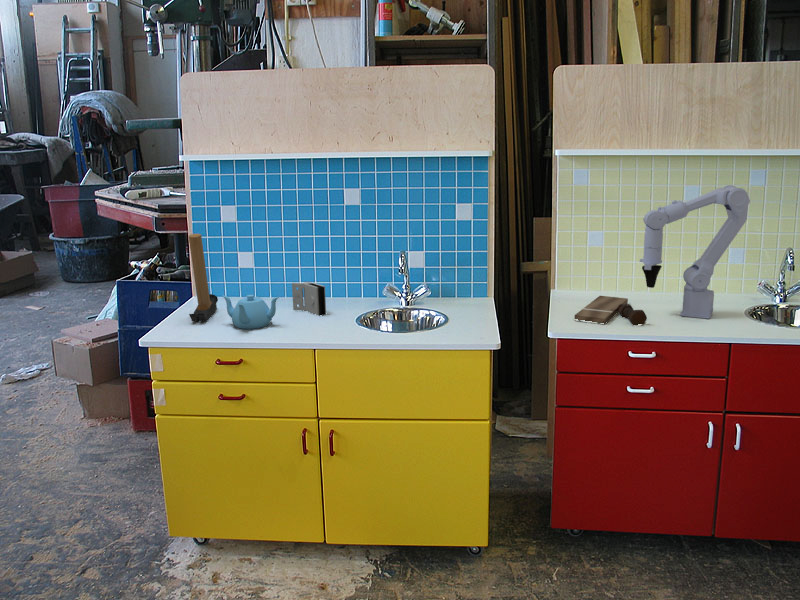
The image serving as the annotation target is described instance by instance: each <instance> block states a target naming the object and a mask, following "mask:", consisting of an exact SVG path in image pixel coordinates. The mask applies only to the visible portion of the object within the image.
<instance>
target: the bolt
mask: <svg viewBox="0 0 800 600" xmlns="http://www.w3.org/2000/svg"><path fill="white" fill-rule="evenodd" d="M617 311H618V314H620V317H621V316H622V317H621V318H623V317H627V318H626V319H628V320H629V322H630V324H631V325H632V324H633V325H638V324H644V325H645V323H647V320H648V317H647V314H646V313H645V311H644V310H643V309H634V308H633V306H632V304H629V303H628V304H625V305H624V304H621V305H619V306H618V307H617ZM633 325H632V326H633Z"/></svg>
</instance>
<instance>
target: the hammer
mask: <svg viewBox="0 0 800 600" xmlns="http://www.w3.org/2000/svg"><path fill="white" fill-rule="evenodd" d="M188 243H189V250H190V256H191V262H192V264H191V265H192V271H193V279H194V284H195V290H196V291H195V292H196V299H197V306H196V308H195V310H194V311H193V313H189V314H188V315H189V318H190V319H191V321H192V322H209V320H210V319H211V318H212V317H213V316H214V315H215V312H216V311H217V310H218V307H217V306H218V305H217V303H218V301H219V299H218V298H219V297H218V296H217V295H215V294H211V293H210V290H209V281H208V273H207V268H206V259H205V255H204V254H205V253H204V245H203V237H202V234H201V233H191V234H189V235H188ZM212 315H213V316H212ZM211 316H212V317H211ZM210 317H211V318H210ZM209 318H210V319H209ZM208 319H209V320H208Z"/></svg>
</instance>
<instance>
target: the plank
mask: <svg viewBox="0 0 800 600" xmlns="http://www.w3.org/2000/svg"><path fill="white" fill-rule="evenodd" d="M628 301H629V298H626V297H618V296H607V295H599V296H597V297H596V298H595V299H593V300H592V301H591V302H590V303H588V304H587V305H586V306H584V307H583V308H581V310H580V311H578V312H577V313H576V314H574V319H578V320H585V321H592V322H598V323H604V324H605V323H606V322H607V321H608V322H609V321H611V320H612V319H613V318H614V317H615V316H616V315H617V314H619V312H618V311H617V307H618V306H619V305H621V304H624V305H625V304H629V303H628ZM616 313H617V314H616ZM615 314H616V315H615ZM614 315H615V316H614ZM613 316H614V317H613ZM612 317H613V318H612ZM611 318H612V319H611ZM610 319H611V320H610ZM608 322H607V323H608ZM607 323H606V324H607ZM606 324H605V325H606Z"/></svg>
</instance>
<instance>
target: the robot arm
mask: <svg viewBox="0 0 800 600" xmlns="http://www.w3.org/2000/svg"><path fill="white" fill-rule="evenodd" d="M750 203H751V199H750V197H749V195H748V192H747V191H746V190H745V189H744V188H742V187H737V186H735V185H725V186H723V187H718V188H716V189H714V190H711V191H709V192H706V193H704V194H702V195H698V196H697V197H695V198H693V199H690V200H688V201H686V202H684V201H681V200H678V201H677V200H672V201H671V203H670V204H668V205H664V206H662V207H661V206H658V207H657V210H656V209H651V210H649V211H647V212H646V213H645V215H644V217H643V219H642V221H643V223H644V225H645V228H644V240H643V258H640V259H639V262H640V263H643V264H644V265H642V266H641V270H642V271H643V274H644V277H645V283H646V287H647V288H651V289H652V288H653V289H654V288H655V286H656V282H657V277H658V275H659V273H660V271H661V269H662V267H663V266H662V265H660V264H662V262H663V260H662V258H663V257H662V255H663V239H664V238H663V237H664V232H663V231H664V227H665V225H669V224H671V223H673V222H678V221H679V220H682V219H685V218H686V217H687V216H688V214H689V212H692V211H695V210H699V209H701V208H705V207H706V206H707V207H708V206H710V205H712V204H717V205H723V206H724V207H725V210H726V214H727V218H726V220H725V221H724V222H723V224H722V225H721V227H720V229H719V230H718V231H717V233H716V235H714V237H713V239H712V240H711V242H710V243H709V244H708V246H707V247H706V249H705V250H704V252H703V253H702V255H701V256H700V257H699V258H698V259H697V260H695V261H694V262H693V263H692V265H691V266H689V267H687V268H686V269H685V270H684V272H683V280H684V281H685V283H684V286H683V296H682V297H683V298H682V310H681V311H680V312H679V314H678V315H679V316H680V317H682V316H683V317H690V318H697V319H710V318H711V316H712V315H713V313H714V299H715V291H714V290H711V289H708V287H709V285H710V282H711V278H712V276H713V274H714V270H715V267H716V265H717V263H718V262H719V260H720V259H721V258H722V256H723V254H724V253H725V252H726V250H727V249H728V248H729V247H730V244H731V243H732V242H733V240H734V239H735V238H736V236H737V235H738V233H740V231H741V230H742V227H743V226H744V225H745V224H746V222H747V220H748V213H749V212H748V211H749V204H750Z"/></svg>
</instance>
